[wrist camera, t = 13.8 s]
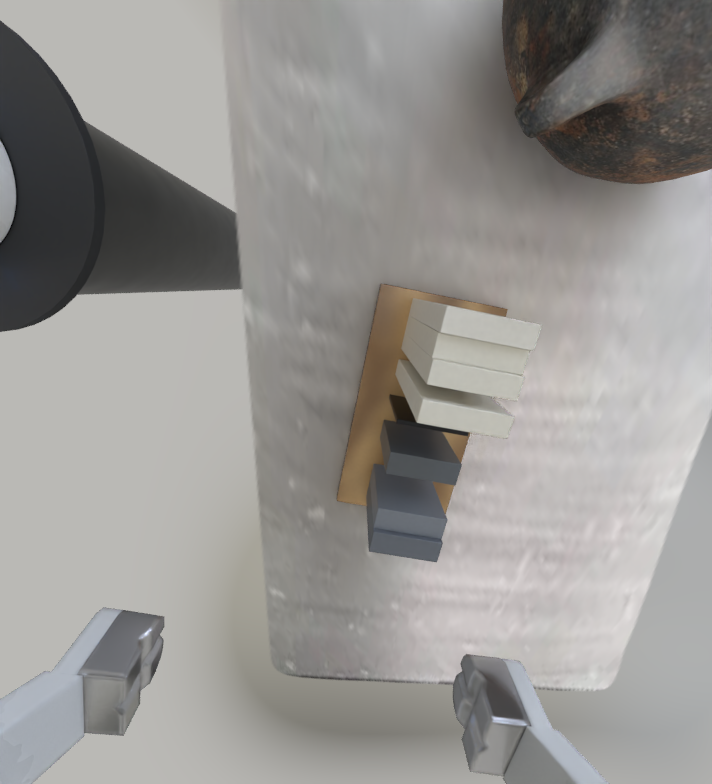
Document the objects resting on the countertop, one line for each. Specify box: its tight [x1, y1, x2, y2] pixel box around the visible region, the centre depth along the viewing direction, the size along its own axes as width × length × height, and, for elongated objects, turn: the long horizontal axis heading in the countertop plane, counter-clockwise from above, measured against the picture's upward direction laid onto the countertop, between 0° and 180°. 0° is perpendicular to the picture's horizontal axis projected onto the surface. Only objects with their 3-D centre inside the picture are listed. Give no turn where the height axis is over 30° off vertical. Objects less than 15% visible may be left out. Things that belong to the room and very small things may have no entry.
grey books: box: [366, 420, 462, 562], centre depth 34 cm, size 6×9×8 cm, turn 169°
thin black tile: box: [389, 394, 469, 436], centre depth 33 cm, size 6×1×7 cm, turn 79°
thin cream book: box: [395, 359, 514, 439], centre depth 29 cm, size 6×2×13 cm, turn 79°
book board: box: [337, 284, 508, 514], centre depth 37 cm, size 12×23×1 cm, turn 169°
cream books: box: [401, 298, 542, 401], centre depth 28 cm, size 6×5×13 cm
